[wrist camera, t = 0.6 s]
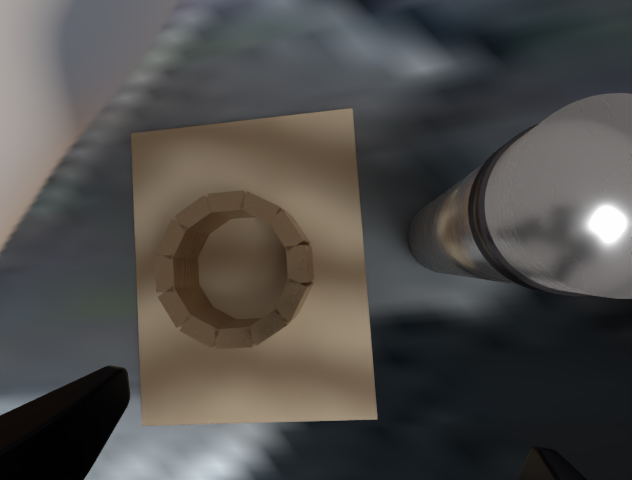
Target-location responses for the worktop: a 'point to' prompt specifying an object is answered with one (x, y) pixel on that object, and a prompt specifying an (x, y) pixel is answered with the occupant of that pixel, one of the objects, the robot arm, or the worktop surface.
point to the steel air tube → (543, 207)
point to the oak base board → (257, 273)
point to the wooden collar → (183, 273)
